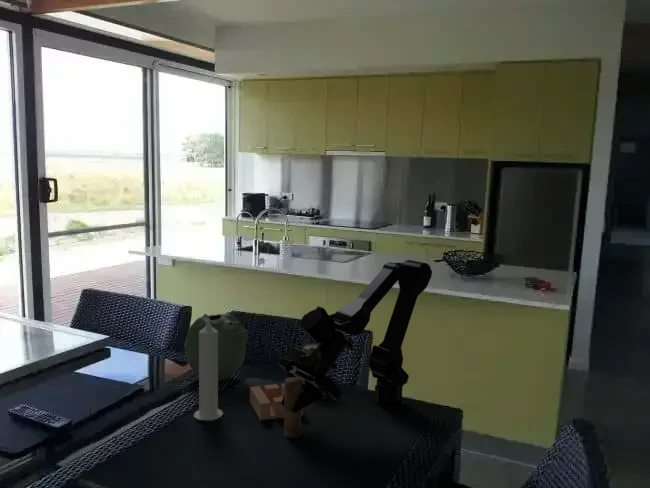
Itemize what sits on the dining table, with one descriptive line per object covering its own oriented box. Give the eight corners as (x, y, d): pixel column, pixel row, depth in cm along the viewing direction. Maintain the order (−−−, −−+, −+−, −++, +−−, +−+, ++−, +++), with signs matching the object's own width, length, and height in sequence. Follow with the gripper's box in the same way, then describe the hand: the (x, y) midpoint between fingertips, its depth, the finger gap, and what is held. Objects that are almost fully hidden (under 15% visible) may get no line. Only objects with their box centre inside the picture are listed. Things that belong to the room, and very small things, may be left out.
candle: (216, 424, 132) (216, 323, 129) (188, 421, 134) (188, 320, 130) (227, 412, 139) (227, 315, 136) (201, 409, 140) (201, 313, 137)
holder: (289, 398, 149) (290, 382, 148) (302, 415, 138) (303, 398, 138) (249, 403, 145) (250, 387, 144) (260, 421, 134) (260, 403, 134)
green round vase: (193, 368, 169) (193, 304, 167) (253, 372, 168) (254, 308, 165) (174, 387, 154) (174, 318, 151) (240, 392, 152) (241, 321, 150)
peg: (297, 428, 131) (298, 376, 129) (303, 436, 127) (304, 382, 126) (281, 431, 130) (282, 378, 128) (286, 438, 126) (287, 384, 124)
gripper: (285, 324, 135) (246, 377, 130) (333, 344, 121) (291, 404, 115) (310, 350, 141) (273, 401, 136) (359, 371, 127) (319, 430, 121)
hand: (287, 408), depth 127 cm, fingers closed on peg, 4 cm apart
